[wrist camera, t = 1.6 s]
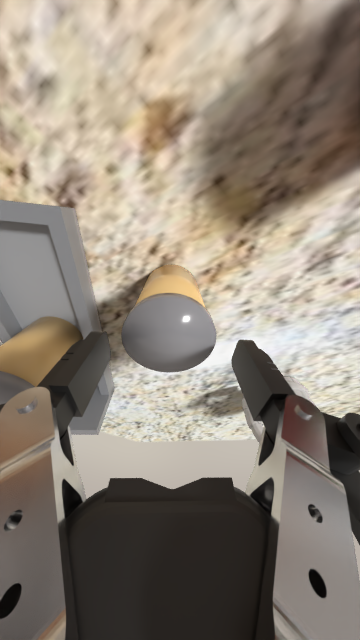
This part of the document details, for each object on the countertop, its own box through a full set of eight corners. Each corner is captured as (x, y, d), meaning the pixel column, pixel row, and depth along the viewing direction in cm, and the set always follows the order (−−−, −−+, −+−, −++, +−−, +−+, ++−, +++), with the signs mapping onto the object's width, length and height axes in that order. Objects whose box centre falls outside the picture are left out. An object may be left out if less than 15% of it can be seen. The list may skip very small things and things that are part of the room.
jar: (142, 260, 15) (115, 294, 8) (203, 265, 15) (226, 302, 8) (144, 313, 18) (126, 370, 11) (194, 316, 18) (206, 373, 11)
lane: (-65, 192, 12) (-274, 169, 6) (74, 208, 12) (-3, 199, 7) (49, 386, 24) (13, 434, 19) (114, 388, 25) (98, 434, 20)
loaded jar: (21, 313, 17) (-82, 376, 10) (78, 316, 17) (16, 379, 10) (42, 352, 20) (-26, 420, 13) (89, 354, 20) (47, 421, 14)
